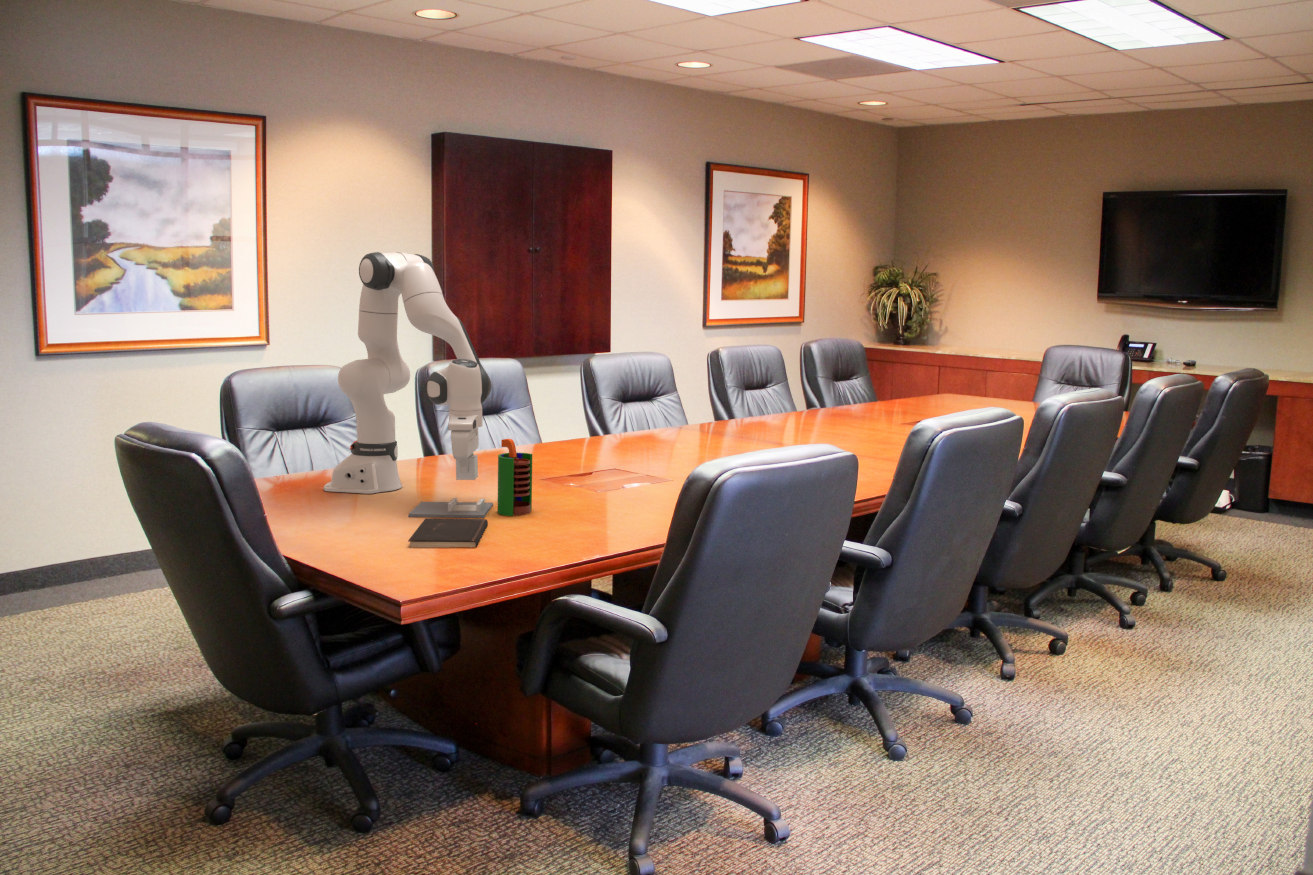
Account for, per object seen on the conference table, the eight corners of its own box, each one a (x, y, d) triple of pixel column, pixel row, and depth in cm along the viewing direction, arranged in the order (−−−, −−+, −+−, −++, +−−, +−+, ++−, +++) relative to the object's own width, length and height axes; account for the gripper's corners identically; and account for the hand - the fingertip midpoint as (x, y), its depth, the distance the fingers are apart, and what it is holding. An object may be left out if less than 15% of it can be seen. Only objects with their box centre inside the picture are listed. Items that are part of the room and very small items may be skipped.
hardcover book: (408, 549, 250) (408, 540, 250) (425, 527, 273) (425, 518, 273) (476, 550, 251) (476, 540, 251) (487, 527, 274) (487, 518, 273)
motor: (523, 517, 284) (523, 443, 281) (492, 515, 286) (491, 441, 283) (535, 509, 294) (535, 437, 291) (504, 507, 295) (504, 436, 293)
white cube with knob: (456, 479, 286) (455, 450, 285) (459, 476, 291) (458, 447, 290) (474, 479, 286) (474, 450, 285) (477, 476, 291) (477, 447, 290)
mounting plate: (408, 516, 282) (408, 506, 281) (421, 504, 297) (421, 494, 297) (483, 518, 282) (483, 507, 281) (492, 505, 298) (492, 495, 297)
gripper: (461, 415, 296) (461, 464, 298) (446, 424, 276) (448, 477, 278) (483, 415, 296) (484, 464, 298) (471, 425, 276) (472, 477, 278)
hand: (466, 470), depth 288 cm, fingers closed on white cube with knob, 5 cm apart
